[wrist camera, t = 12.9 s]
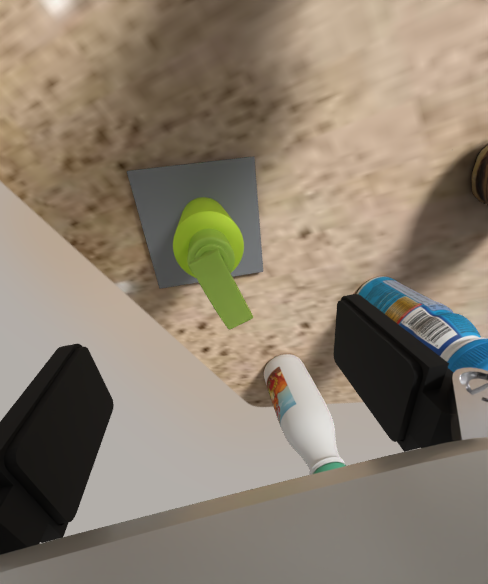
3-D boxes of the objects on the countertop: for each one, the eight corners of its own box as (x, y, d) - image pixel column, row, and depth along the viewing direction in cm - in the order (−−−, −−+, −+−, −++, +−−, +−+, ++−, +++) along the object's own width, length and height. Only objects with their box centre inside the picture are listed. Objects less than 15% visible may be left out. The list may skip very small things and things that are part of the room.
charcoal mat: (128, 171, 30) (126, 170, 29) (252, 157, 31) (254, 156, 30) (160, 285, 36) (159, 288, 35) (261, 269, 38) (263, 271, 37)
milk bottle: (286, 345, 45) (346, 457, 27) (310, 367, 48) (377, 481, 30) (254, 370, 46) (291, 495, 28) (279, 390, 49) (325, 513, 32)
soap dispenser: (199, 257, 35) (203, 347, 17) (172, 210, 31) (140, 258, 14) (237, 238, 34) (282, 308, 16) (214, 188, 31) (238, 208, 13)
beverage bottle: (401, 270, 42) (550, 341, 25) (392, 313, 46) (516, 402, 28) (354, 278, 41) (474, 357, 24) (349, 321, 45) (449, 418, 27)
